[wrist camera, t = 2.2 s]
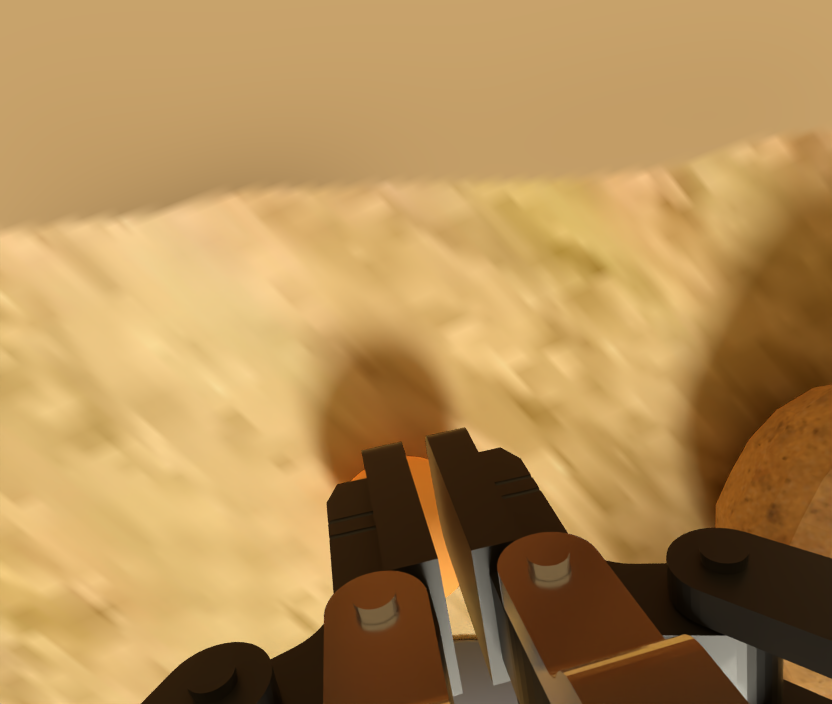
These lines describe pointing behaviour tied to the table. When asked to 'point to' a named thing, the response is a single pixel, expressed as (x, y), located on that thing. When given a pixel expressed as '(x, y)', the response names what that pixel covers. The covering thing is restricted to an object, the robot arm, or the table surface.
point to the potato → (787, 491)
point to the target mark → (478, 677)
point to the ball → (430, 518)
